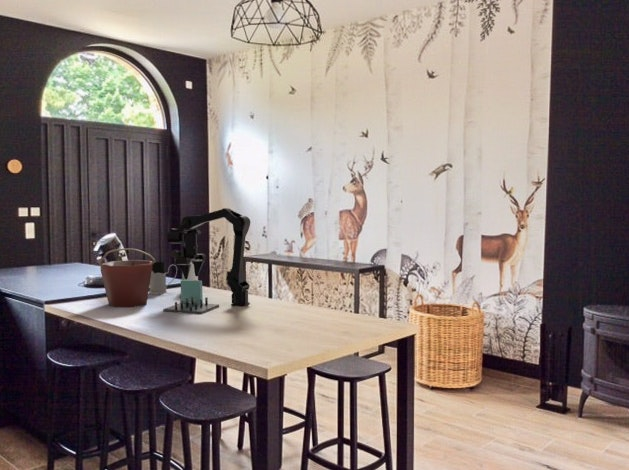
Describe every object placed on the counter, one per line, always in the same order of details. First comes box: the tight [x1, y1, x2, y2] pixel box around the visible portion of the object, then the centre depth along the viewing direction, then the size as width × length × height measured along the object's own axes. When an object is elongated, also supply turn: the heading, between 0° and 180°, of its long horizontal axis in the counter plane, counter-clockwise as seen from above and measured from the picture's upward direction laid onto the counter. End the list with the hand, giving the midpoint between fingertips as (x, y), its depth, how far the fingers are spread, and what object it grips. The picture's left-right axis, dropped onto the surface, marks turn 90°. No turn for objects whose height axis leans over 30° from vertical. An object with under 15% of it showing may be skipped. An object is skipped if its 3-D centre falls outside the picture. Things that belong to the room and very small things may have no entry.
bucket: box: [96, 248, 156, 308], centre depth 262 cm, size 24×22×25 cm
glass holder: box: [148, 261, 178, 295], centre depth 291 cm, size 9×14×15 cm, turn 115°
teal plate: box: [180, 279, 203, 303], centre depth 265 cm, size 10×2×10 cm, turn 72°
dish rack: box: [162, 296, 220, 315], centre depth 249 cm, size 18×16×4 cm
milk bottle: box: [181, 262, 199, 281], centre depth 291 cm, size 8×8×20 cm
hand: (191, 277), depth 265 cm, fingers open, 9 cm apart
